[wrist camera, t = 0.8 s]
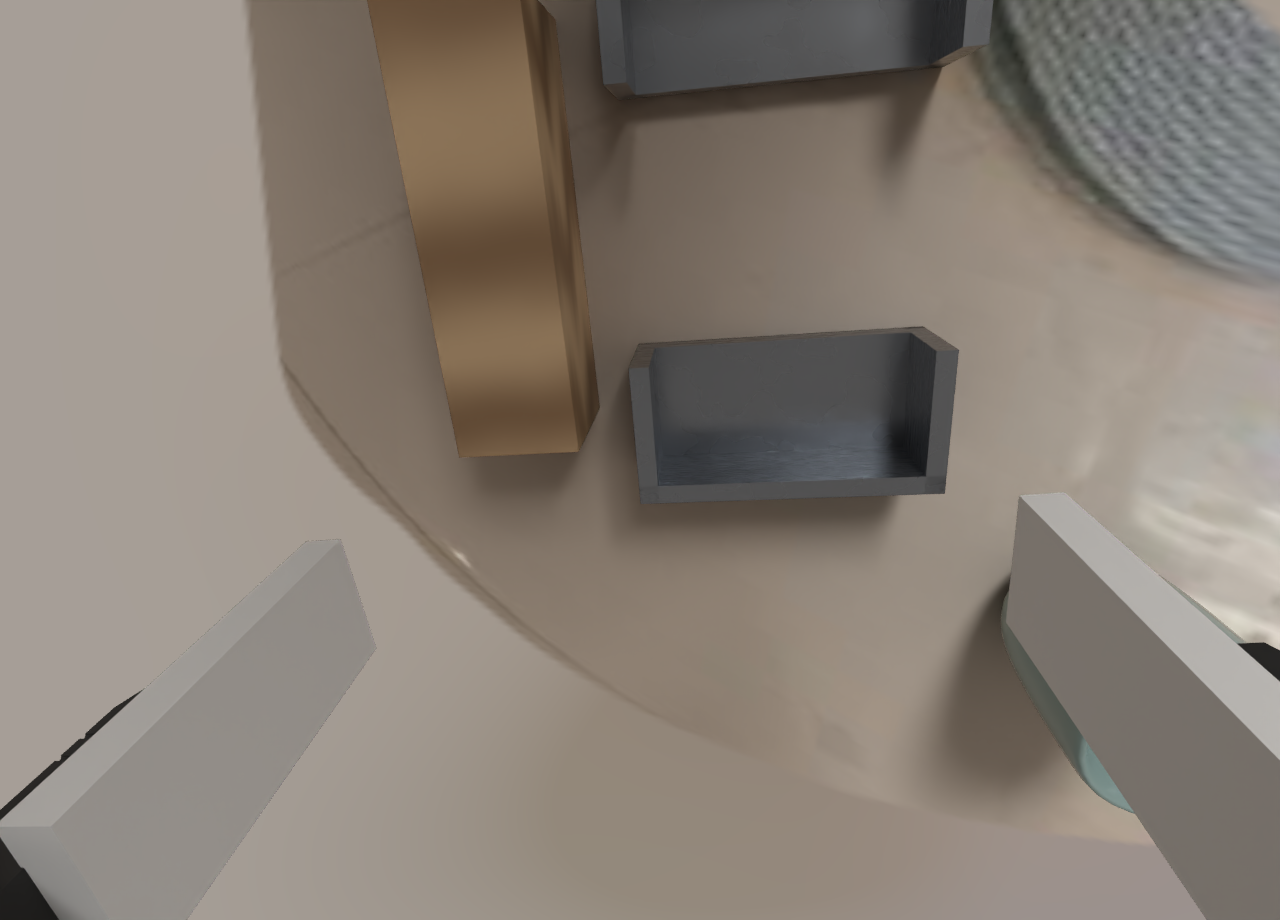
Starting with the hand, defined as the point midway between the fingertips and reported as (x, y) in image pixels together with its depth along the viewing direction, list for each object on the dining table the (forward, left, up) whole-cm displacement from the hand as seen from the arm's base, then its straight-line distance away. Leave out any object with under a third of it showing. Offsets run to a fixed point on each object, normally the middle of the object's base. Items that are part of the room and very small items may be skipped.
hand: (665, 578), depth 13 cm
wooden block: (-6, -7, -19) cm, 21 cm away
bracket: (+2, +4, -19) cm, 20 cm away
